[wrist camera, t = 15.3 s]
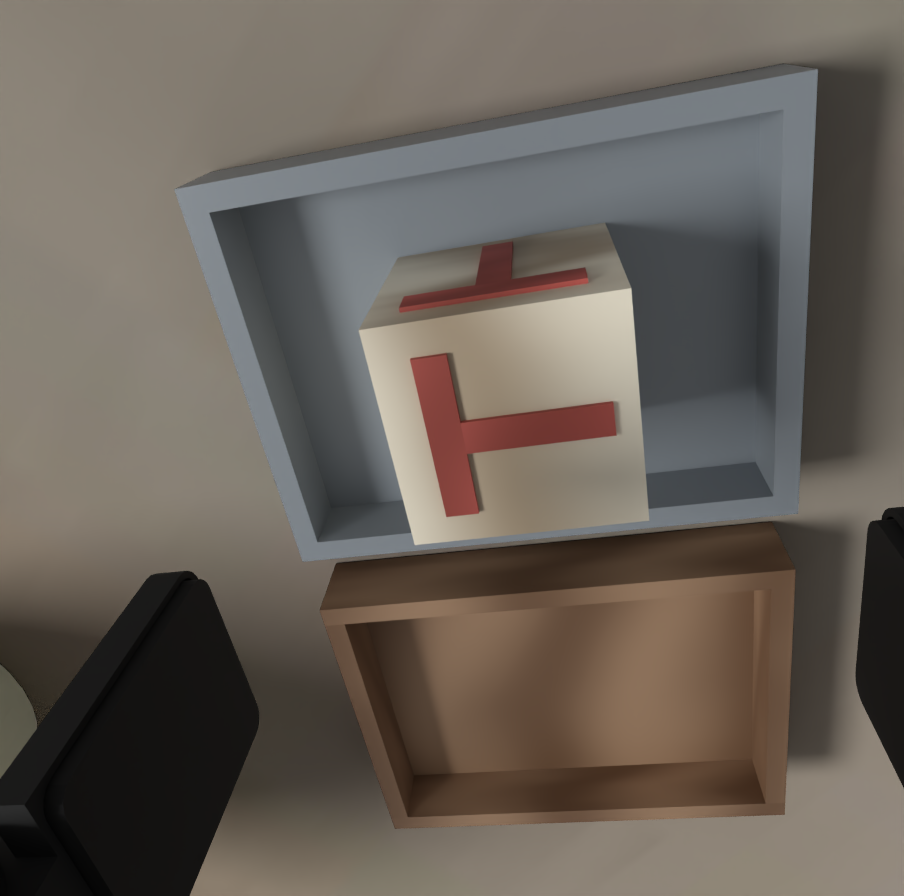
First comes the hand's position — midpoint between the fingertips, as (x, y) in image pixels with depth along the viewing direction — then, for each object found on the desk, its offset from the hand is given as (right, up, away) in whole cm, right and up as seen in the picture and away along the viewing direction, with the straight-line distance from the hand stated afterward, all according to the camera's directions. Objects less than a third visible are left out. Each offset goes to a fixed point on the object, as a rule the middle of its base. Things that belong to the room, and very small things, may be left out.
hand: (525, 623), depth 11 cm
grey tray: (+1, +6, +9) cm, 10 cm away
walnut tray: (+3, -5, +14) cm, 15 cm away
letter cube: (+1, +5, +8) cm, 10 cm away
